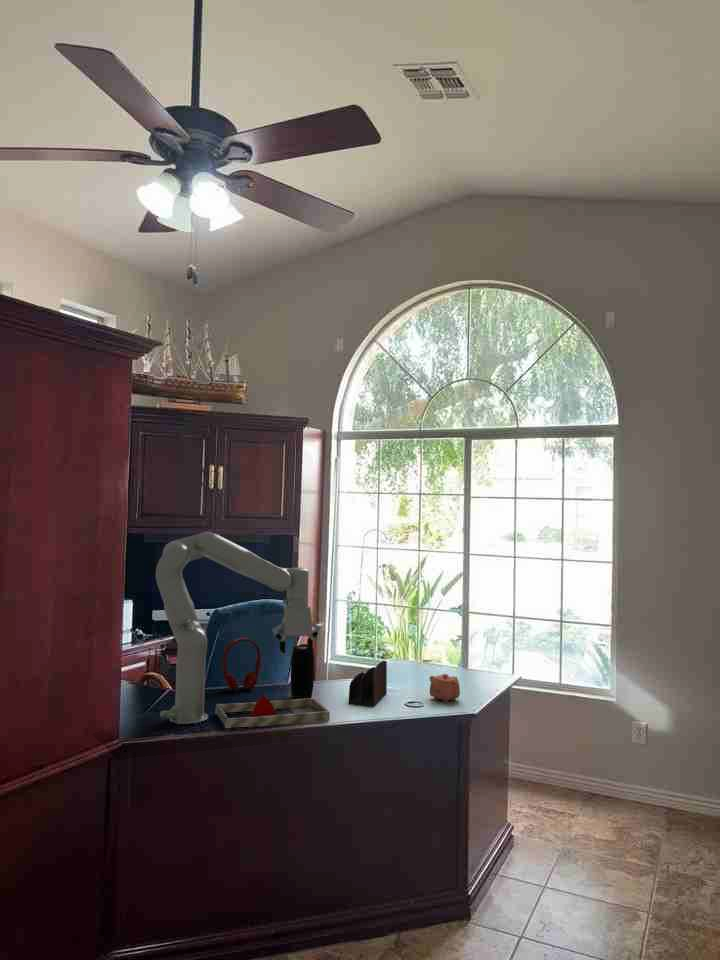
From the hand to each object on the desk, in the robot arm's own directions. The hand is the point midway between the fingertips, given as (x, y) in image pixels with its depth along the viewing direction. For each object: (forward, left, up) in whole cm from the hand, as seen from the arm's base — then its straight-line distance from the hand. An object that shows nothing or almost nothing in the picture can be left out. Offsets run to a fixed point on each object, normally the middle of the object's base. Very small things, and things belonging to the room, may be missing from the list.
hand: (296, 651), depth 262 cm
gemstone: (-14, -1, -22) cm, 26 cm away
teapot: (+58, -13, -22) cm, 63 cm away
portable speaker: (+12, +15, -22) cm, 29 cm away
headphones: (-3, +36, -22) cm, 42 cm away
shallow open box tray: (-9, -1, -21) cm, 23 cm away
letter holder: (+33, +2, -22) cm, 40 cm away
